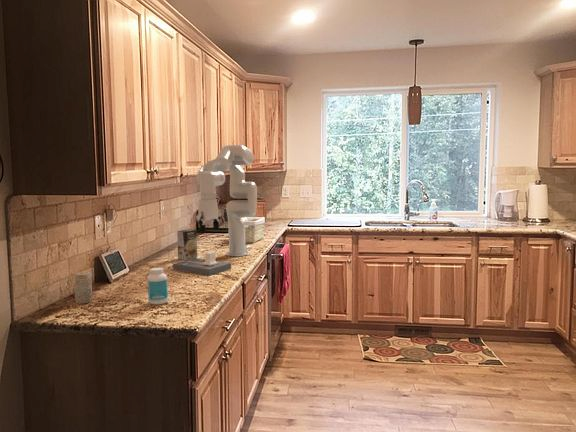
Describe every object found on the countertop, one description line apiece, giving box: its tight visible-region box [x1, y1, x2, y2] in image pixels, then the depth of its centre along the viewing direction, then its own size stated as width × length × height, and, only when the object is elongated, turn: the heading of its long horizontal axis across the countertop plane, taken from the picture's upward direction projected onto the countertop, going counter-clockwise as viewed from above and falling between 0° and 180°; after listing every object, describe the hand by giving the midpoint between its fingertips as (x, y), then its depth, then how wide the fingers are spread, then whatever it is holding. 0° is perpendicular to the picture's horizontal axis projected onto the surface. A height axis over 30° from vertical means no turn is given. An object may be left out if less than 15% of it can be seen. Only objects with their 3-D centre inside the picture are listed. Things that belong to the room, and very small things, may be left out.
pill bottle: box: [146, 267, 169, 306], centre depth 191 cm, size 8×7×14 cm
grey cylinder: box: [74, 271, 93, 305], centre depth 193 cm, size 6×8×12 cm
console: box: [172, 257, 232, 276], centre depth 247 cm, size 16×25×3 cm, turn 56°
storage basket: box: [241, 216, 266, 244], centre depth 331 cm, size 24×16×15 cm
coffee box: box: [176, 228, 198, 261], centre depth 274 cm, size 9×6×16 cm
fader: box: [203, 251, 218, 266], centre depth 244 cm, size 6×5×6 cm
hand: (209, 231), depth 242 cm, fingers open, 9 cm apart
